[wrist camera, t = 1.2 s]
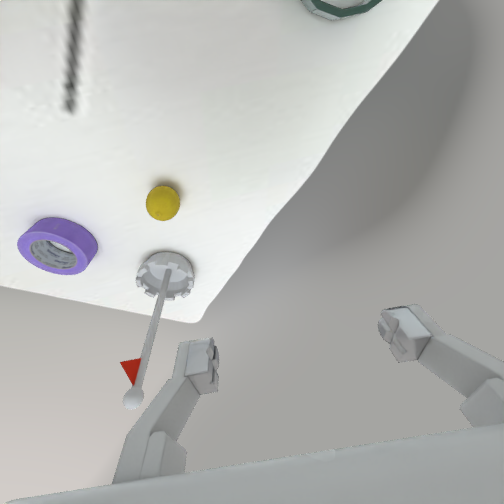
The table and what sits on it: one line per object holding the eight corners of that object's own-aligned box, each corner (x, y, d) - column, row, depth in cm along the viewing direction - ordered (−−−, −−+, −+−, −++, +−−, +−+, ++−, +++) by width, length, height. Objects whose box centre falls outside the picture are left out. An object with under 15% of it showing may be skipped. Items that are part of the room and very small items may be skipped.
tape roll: (31, 208, 42) (12, 223, 39) (99, 229, 47) (88, 244, 43) (36, 250, 49) (20, 266, 45) (96, 264, 53) (86, 280, 50)
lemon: (181, 180, 41) (173, 201, 35) (183, 206, 44) (177, 229, 38) (150, 177, 40) (136, 199, 34) (155, 204, 44) (143, 227, 38)
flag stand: (204, 277, 59) (189, 411, 37) (160, 288, 61) (121, 422, 39) (180, 242, 51) (142, 390, 29) (130, 256, 52) (58, 406, 30)
